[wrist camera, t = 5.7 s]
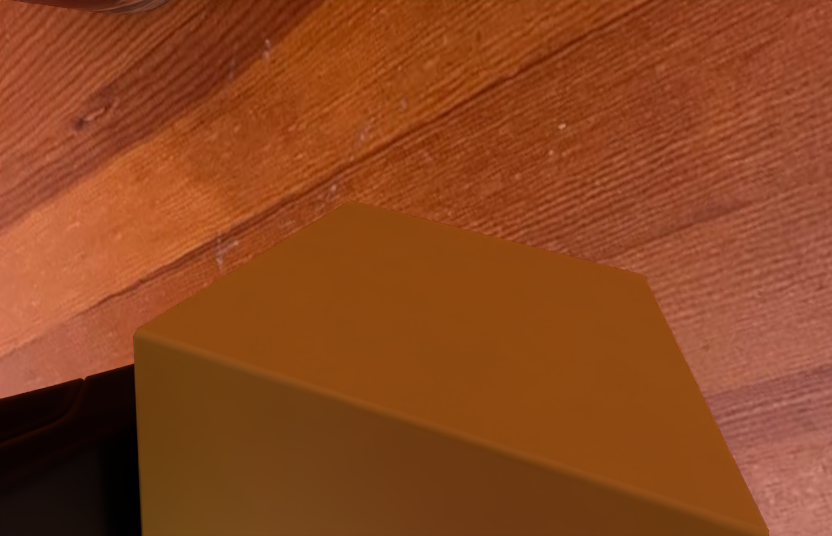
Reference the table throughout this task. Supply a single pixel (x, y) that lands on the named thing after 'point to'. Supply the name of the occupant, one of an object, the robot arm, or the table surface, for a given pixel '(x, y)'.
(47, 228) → the table surface
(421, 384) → the top block
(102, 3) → the jar
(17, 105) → the table surface
